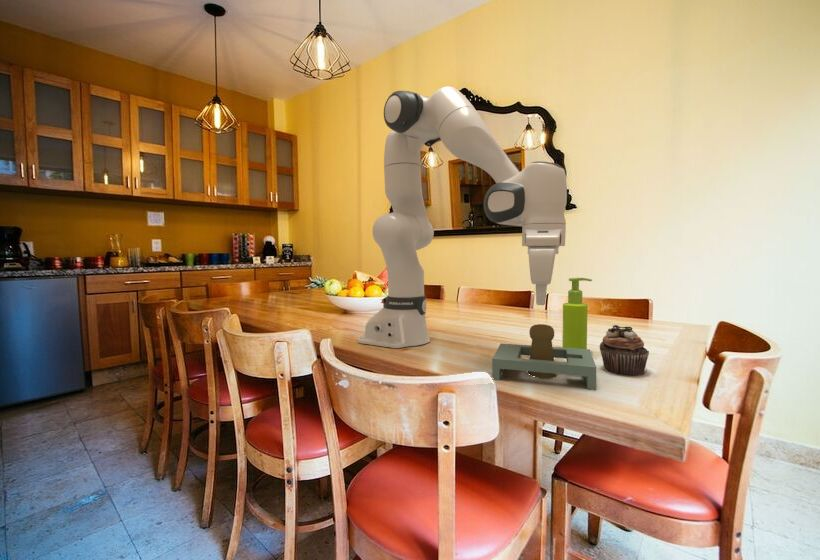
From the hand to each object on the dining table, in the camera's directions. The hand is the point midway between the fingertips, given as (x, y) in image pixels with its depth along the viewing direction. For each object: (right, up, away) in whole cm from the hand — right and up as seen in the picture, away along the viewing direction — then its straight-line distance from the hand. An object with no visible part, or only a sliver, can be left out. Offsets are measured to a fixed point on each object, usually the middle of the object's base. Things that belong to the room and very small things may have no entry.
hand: (541, 301), depth 82 cm
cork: (0, -16, +1) cm, 16 cm away
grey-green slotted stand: (+1, -16, +1) cm, 16 cm away
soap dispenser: (+15, -15, +17) cm, 27 cm away
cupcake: (+19, -16, +2) cm, 25 cm away
